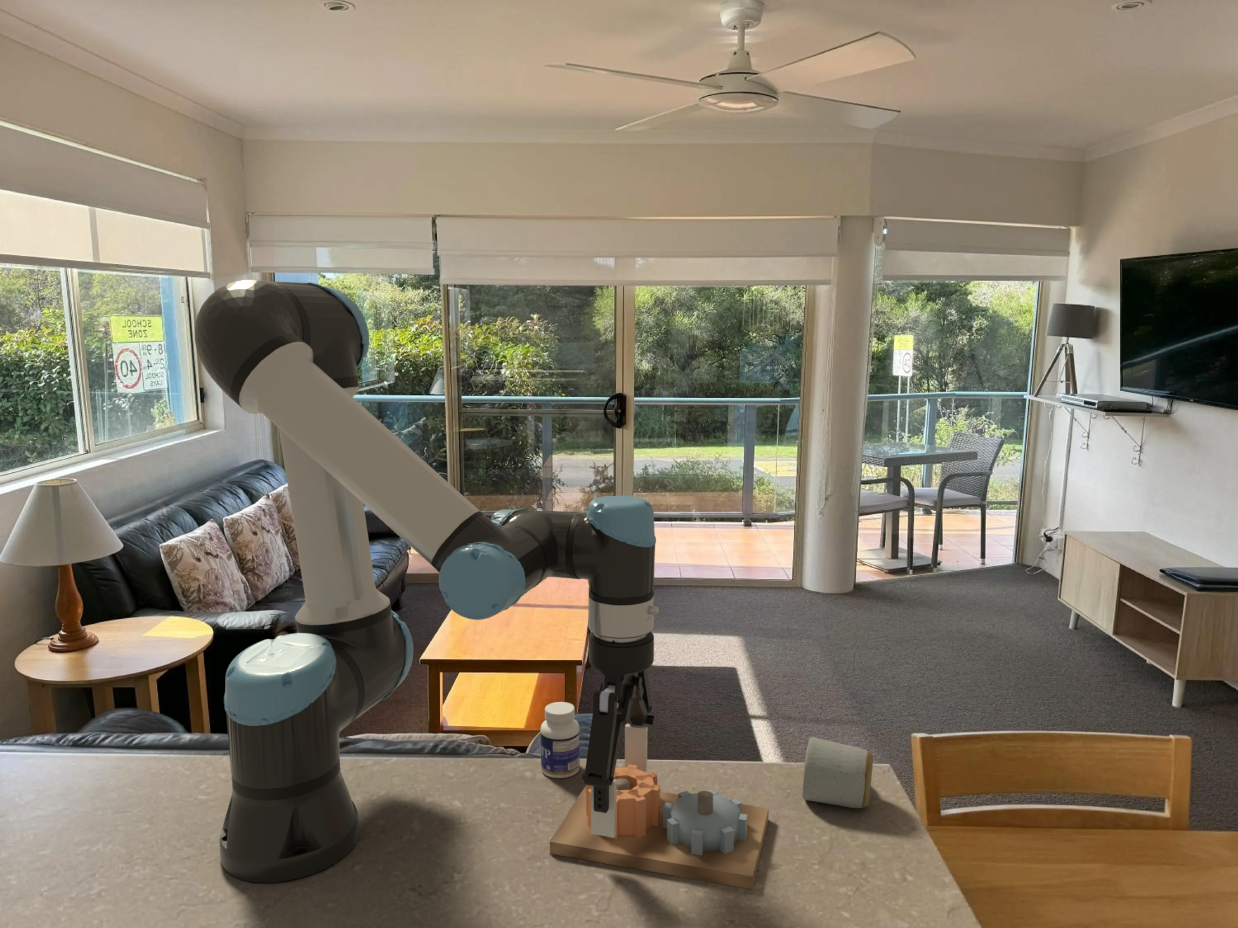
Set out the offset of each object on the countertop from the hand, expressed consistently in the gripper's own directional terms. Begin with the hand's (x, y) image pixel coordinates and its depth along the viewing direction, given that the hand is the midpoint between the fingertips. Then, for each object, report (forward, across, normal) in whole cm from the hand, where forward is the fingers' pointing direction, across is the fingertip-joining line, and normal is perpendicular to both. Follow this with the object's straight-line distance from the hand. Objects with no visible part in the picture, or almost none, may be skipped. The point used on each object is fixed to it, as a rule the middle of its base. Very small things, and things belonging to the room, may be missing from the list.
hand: (620, 802), depth 105 cm
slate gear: (+2, 0, -10) cm, 10 cm away
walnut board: (+3, 0, -5) cm, 6 cm away
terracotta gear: (+2, 0, 0) cm, 2 cm away
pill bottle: (+4, +12, +12) cm, 17 cm away
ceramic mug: (+4, +15, -24) cm, 29 cm away
